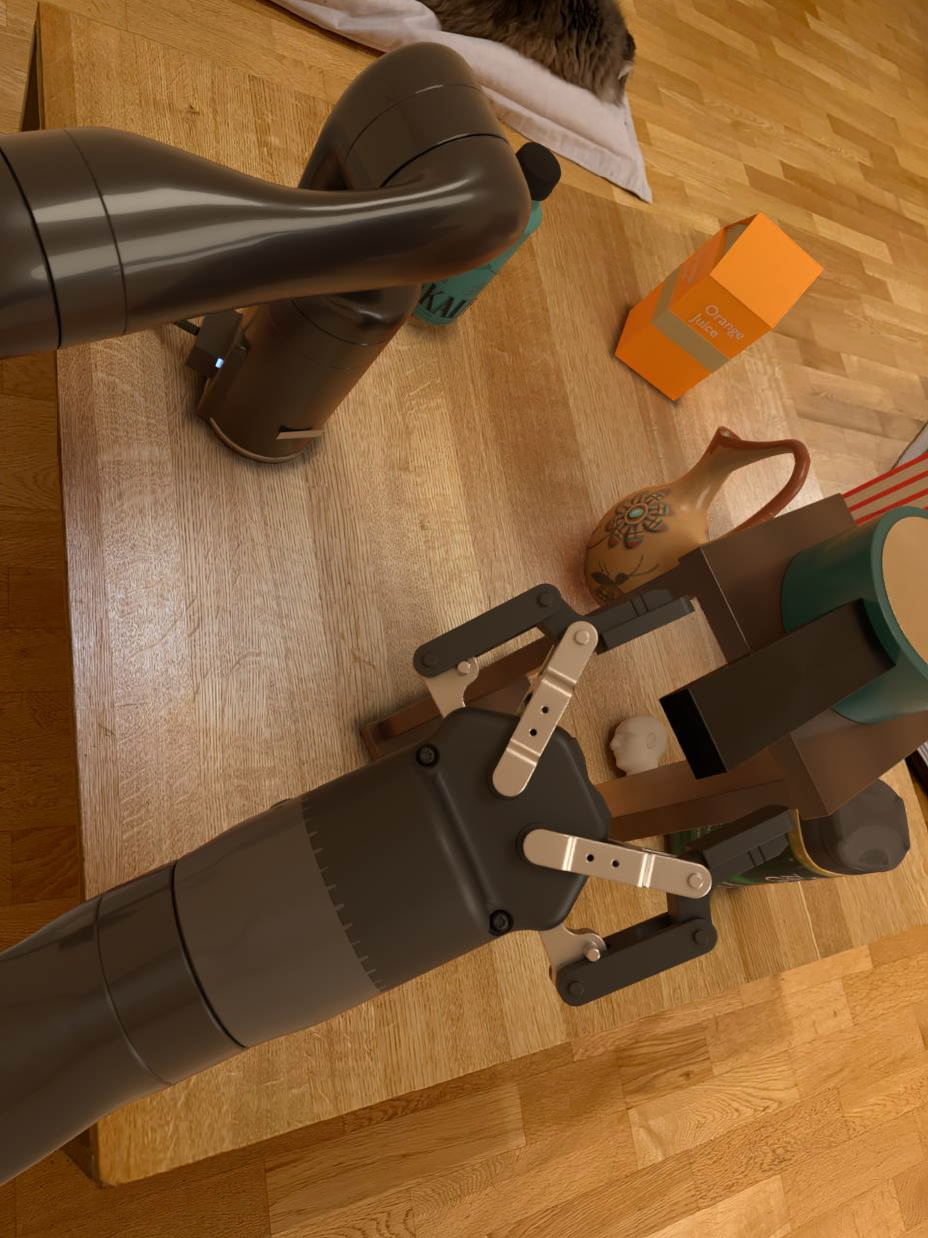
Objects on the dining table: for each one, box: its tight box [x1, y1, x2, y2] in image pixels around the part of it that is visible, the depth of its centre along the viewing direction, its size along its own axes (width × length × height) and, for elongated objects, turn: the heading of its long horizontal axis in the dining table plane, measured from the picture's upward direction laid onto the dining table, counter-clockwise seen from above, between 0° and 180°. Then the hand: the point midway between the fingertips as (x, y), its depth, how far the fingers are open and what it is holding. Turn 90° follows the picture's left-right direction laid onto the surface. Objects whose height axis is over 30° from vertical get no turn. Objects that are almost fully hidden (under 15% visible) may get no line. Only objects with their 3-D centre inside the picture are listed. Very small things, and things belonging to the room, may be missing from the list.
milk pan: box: [658, 506, 928, 780], centre depth 40 cm, size 20×9×5 cm, turn 118°
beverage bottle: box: [412, 141, 562, 327], centre depth 81 cm, size 6×7×20 cm
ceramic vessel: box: [583, 425, 812, 607], centre depth 80 cm, size 16×9×25 cm, turn 167°
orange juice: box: [614, 211, 825, 402], centre depth 96 cm, size 8×9×20 cm
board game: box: [841, 451, 928, 525], centre depth 86 cm, size 20×6×27 cm, turn 5°
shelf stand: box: [359, 492, 928, 843], centre depth 61 cm, size 16×13×37 cm
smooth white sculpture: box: [609, 714, 669, 776], centre depth 83 cm, size 4×8×5 cm
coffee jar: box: [668, 778, 912, 889], centre depth 78 cm, size 10×8×19 cm
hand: (735, 707), depth 35 cm, fingers open, 8 cm apart
